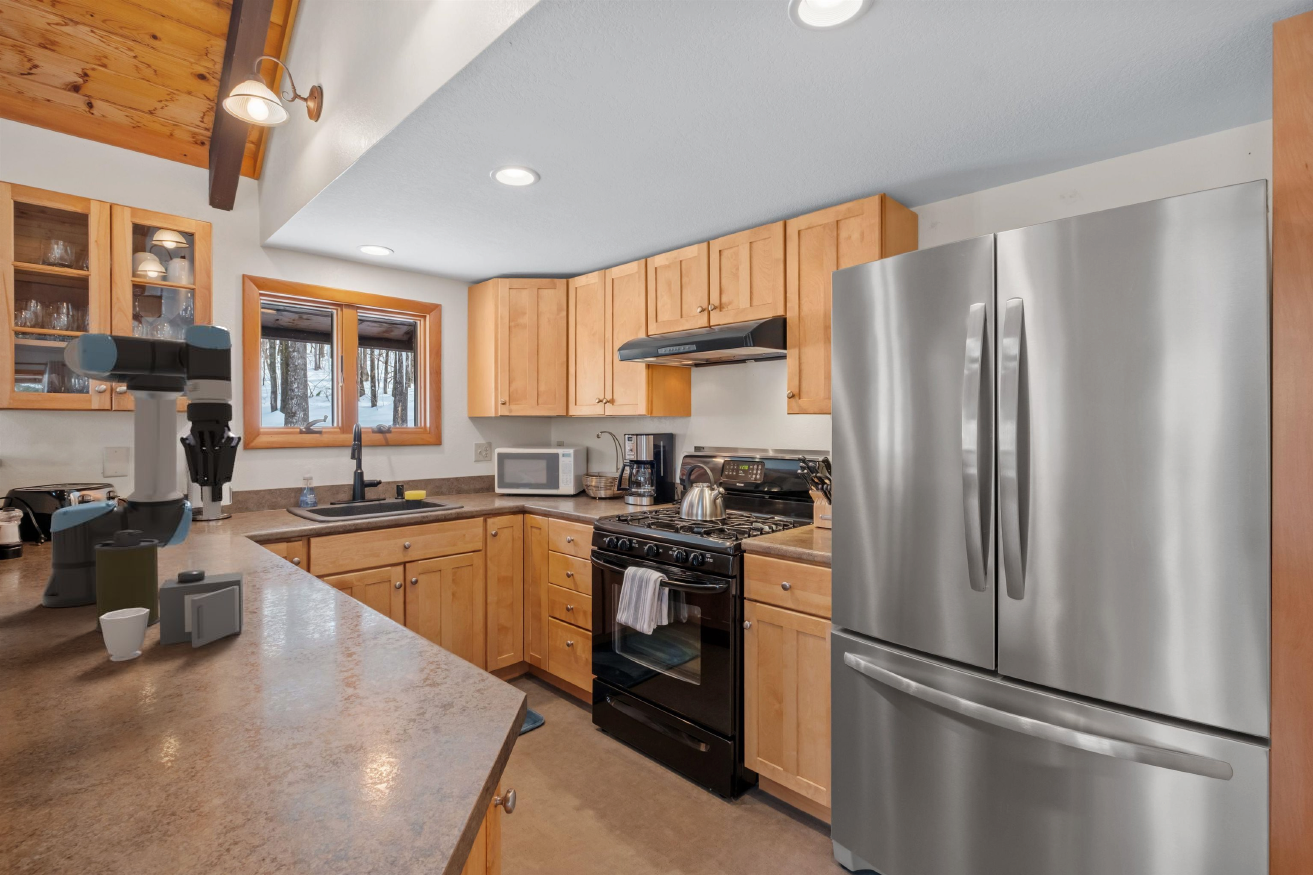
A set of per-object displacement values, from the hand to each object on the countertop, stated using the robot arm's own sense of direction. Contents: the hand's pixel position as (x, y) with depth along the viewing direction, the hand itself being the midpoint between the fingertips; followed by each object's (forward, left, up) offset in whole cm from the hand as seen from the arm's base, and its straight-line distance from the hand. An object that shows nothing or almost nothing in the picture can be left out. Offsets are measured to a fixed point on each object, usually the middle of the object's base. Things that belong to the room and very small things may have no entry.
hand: (212, 517), depth 127 cm
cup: (+6, -13, -24) cm, 28 cm away
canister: (-16, -16, -24) cm, 33 cm away
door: (+8, +1, -23) cm, 24 cm away
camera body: (0, -2, -24) cm, 24 cm away
